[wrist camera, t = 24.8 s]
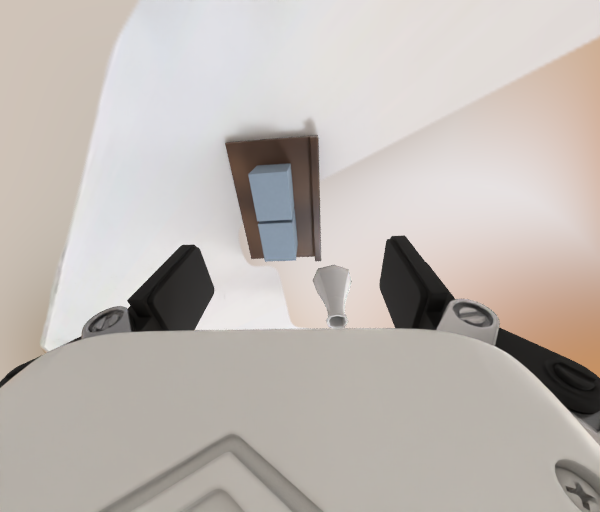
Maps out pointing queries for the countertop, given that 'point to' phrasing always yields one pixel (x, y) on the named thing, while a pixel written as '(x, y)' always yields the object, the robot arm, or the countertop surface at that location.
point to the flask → (333, 293)
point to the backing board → (303, 180)
